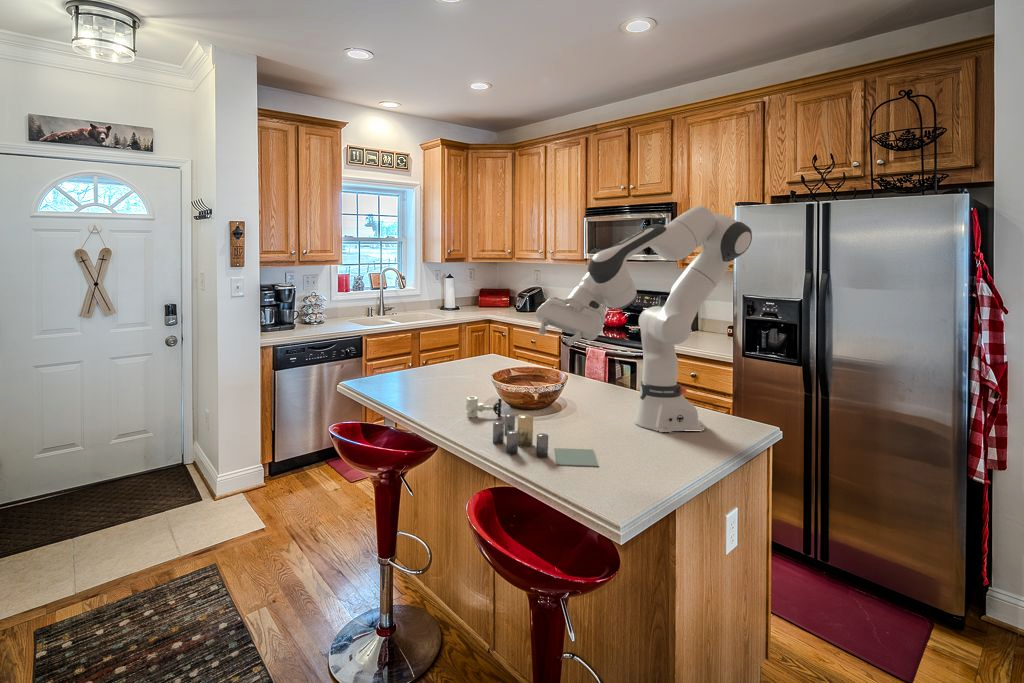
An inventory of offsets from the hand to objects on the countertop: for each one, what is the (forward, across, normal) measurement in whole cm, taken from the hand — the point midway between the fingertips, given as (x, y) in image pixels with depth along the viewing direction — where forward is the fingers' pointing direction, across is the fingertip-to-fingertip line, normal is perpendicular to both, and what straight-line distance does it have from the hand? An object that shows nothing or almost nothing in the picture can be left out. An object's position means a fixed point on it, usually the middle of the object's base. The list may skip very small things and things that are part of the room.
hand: (554, 338), depth 153 cm
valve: (+19, -25, +34) cm, 46 cm away
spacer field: (+27, 0, +19) cm, 33 cm away
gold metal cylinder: (+25, +1, +21) cm, 32 cm away
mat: (+22, +18, +18) cm, 34 cm away
